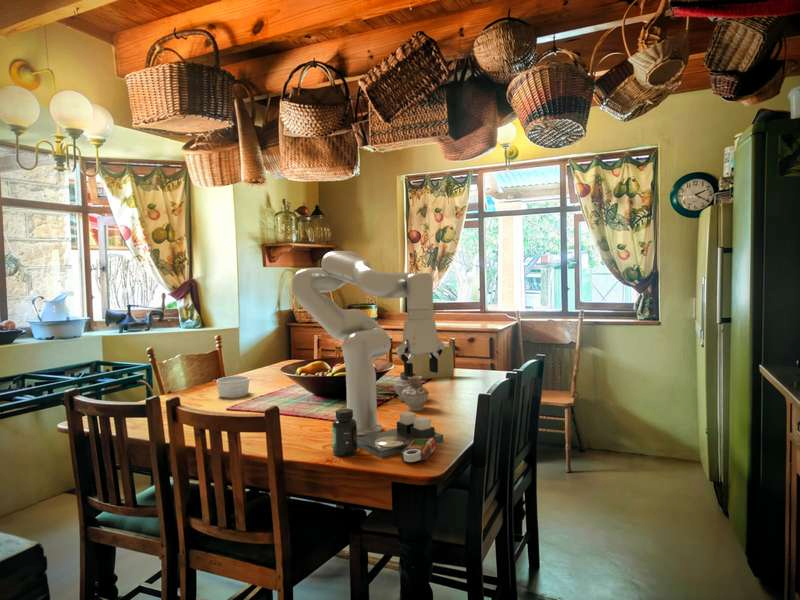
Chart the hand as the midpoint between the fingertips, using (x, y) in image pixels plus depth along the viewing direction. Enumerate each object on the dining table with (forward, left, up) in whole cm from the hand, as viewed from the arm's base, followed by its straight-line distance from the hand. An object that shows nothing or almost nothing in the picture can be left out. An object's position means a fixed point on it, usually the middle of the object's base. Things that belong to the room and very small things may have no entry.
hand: (421, 374), depth 155 cm
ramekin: (-98, -23, -21) cm, 102 cm away
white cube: (0, 0, -17) cm, 17 cm away
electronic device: (+9, -8, -20) cm, 23 cm away
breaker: (-7, 0, -17) cm, 18 cm away
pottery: (-38, +25, -21) cm, 49 cm away
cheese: (-71, +61, -21) cm, 96 cm away
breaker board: (-4, -6, -20) cm, 21 cm away
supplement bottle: (-7, -22, -21) cm, 31 cm away
